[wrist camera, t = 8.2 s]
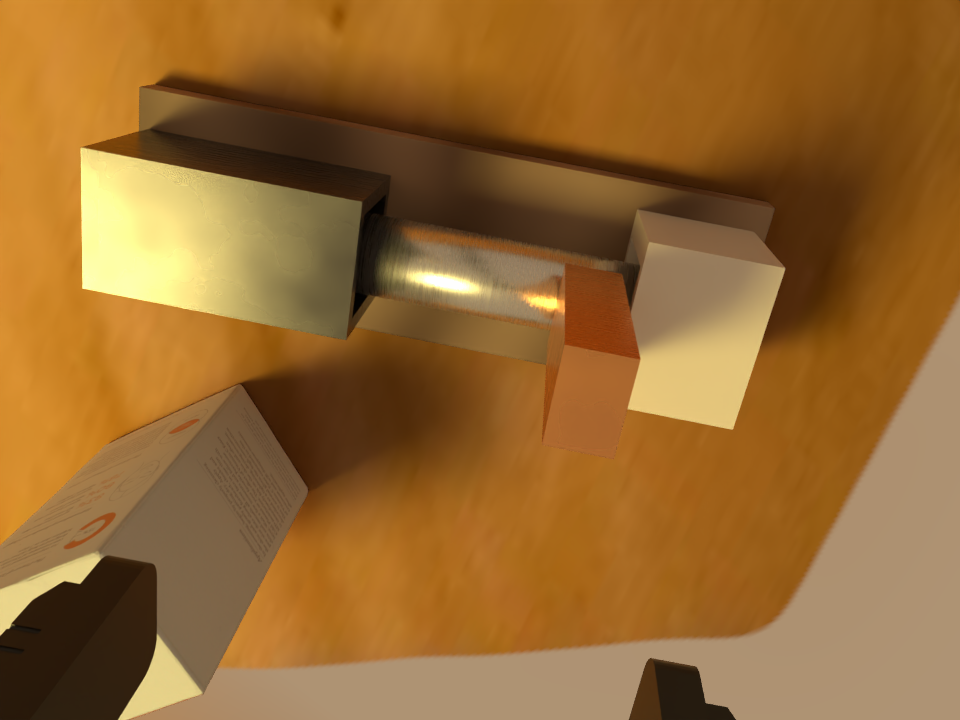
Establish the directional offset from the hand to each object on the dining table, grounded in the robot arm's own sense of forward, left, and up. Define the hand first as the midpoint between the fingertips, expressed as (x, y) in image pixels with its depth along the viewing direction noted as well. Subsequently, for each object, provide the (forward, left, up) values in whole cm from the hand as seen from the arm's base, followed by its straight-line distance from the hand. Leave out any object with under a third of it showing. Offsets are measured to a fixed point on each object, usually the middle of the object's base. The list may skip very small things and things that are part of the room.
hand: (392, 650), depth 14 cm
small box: (+13, -12, -23) cm, 29 cm away
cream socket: (0, +7, -22) cm, 23 cm away
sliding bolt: (0, 0, -21) cm, 21 cm away
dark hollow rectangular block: (0, -10, -22) cm, 24 cm away
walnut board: (0, -3, -23) cm, 23 cm away
